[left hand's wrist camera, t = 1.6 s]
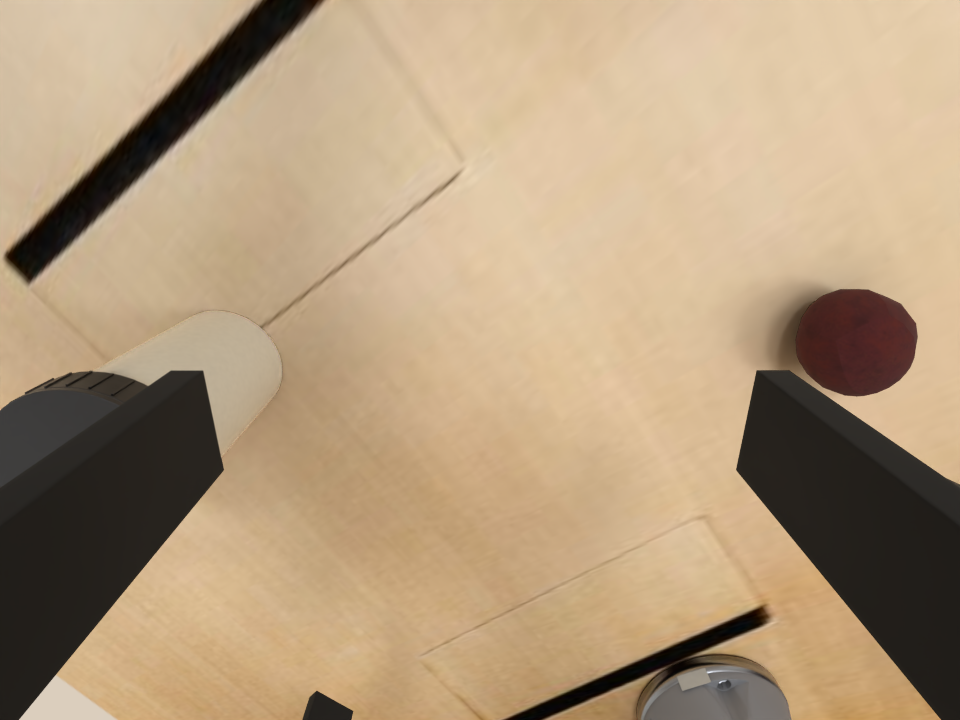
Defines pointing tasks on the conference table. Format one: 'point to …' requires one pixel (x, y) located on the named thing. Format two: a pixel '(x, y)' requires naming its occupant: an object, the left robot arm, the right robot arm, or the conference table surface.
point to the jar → (212, 366)
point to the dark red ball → (856, 342)
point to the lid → (57, 416)
